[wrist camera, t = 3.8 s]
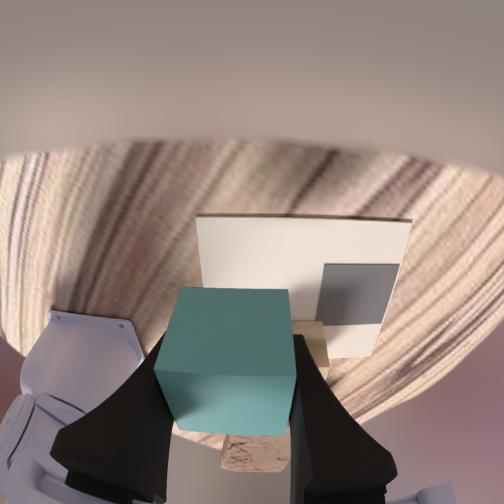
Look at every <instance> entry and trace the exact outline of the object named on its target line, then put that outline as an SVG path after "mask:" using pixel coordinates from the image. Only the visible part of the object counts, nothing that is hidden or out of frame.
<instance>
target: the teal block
mask: <svg viewBox="0 0 504 504" xmlns="http://www.w3.org/2000/svg"><path fill="white" fill-rule="evenodd" d="M154 371H155V374H156V376H157V379H158V382H159V384H160V387H161V389H162V391H163V394H164V396H165V399H166V401H167V403H168V406H169V408H170V410H171V413H172V415H173V417H174V419H175V421H176V424H177V426H178V428H179V430H186V431H194V432H205V433H217V434H233V435H285V432H286V428H287V423H288V418H289V413H290V408H291V403H292V398H293V393H294V387H295V382H296V376H297V375H296V364H295V353H294V342H293V332H292V322H291V312H290V302H289V293H288V289H249V288H206V287H181V290H180V293H179V296H178V299H177V301H176V304H175V307H174V310H173V313H172V316H171V318H170V321H169V324H168V327H167V330H166V333H165V336H164V339H163V342H162V345H161V348H160V351H159V354H158V357H157V360H156V363H155V367H154Z"/></svg>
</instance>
